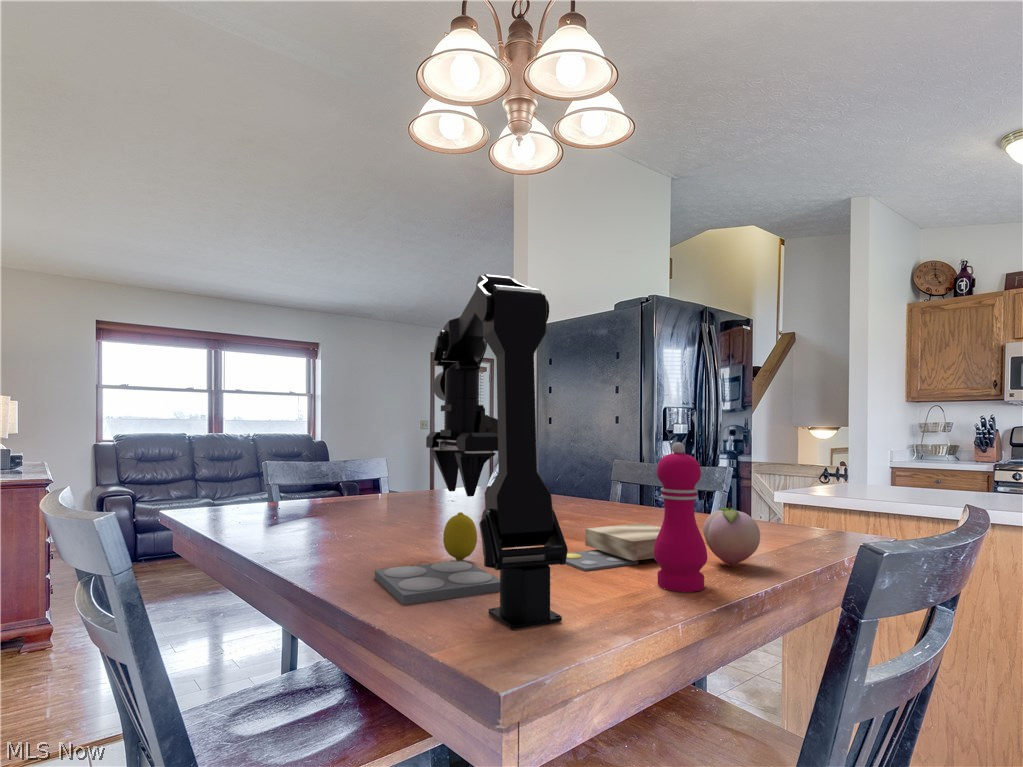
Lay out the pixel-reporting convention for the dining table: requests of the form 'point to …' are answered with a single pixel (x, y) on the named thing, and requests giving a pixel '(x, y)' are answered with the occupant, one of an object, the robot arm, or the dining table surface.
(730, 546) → the decorative fruit
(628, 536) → the cover
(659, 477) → the pepper mill
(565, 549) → the robot arm
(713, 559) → the dining table surface
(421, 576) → the board
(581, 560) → the grey dotted plate
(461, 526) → the lemon
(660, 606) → the dining table surface
